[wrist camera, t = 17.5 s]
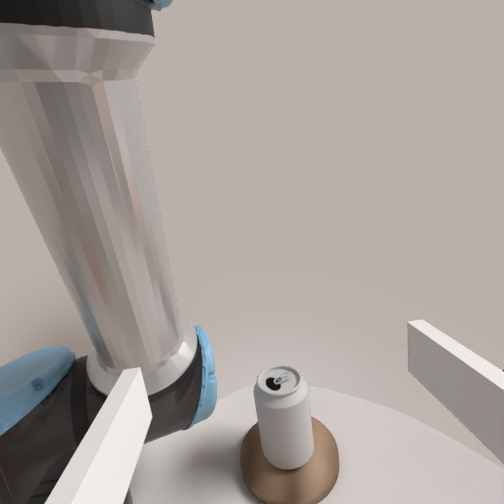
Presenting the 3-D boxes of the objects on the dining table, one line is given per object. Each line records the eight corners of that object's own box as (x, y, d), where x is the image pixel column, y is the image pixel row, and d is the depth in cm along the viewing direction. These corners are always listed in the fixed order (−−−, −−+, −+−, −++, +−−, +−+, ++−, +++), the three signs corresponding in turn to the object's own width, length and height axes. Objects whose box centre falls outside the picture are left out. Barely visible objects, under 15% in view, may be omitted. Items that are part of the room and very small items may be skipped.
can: (255, 440, 43) (244, 371, 41) (297, 421, 45) (290, 354, 43) (276, 485, 36) (265, 405, 34) (325, 459, 39) (318, 383, 36)
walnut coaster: (245, 521, 34) (243, 511, 34) (239, 427, 48) (238, 419, 47) (356, 498, 35) (356, 488, 34) (320, 412, 48) (319, 405, 48)
